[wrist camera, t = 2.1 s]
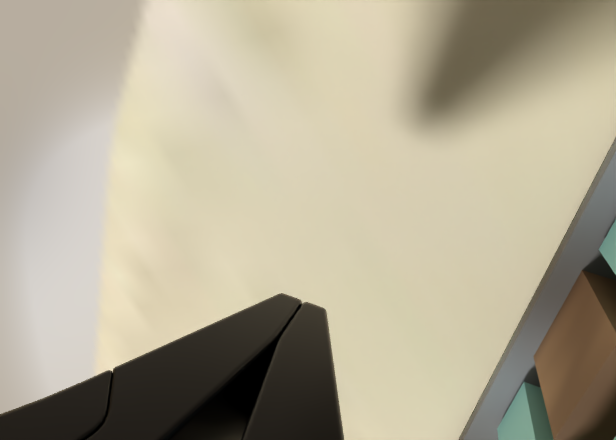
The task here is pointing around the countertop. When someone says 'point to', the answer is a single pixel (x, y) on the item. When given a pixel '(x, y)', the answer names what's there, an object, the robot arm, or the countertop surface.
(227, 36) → the countertop surface
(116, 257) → the countertop surface
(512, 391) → the rail track
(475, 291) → the countertop surface
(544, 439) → the block
